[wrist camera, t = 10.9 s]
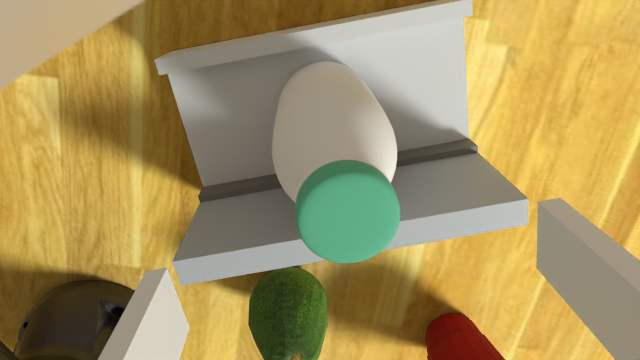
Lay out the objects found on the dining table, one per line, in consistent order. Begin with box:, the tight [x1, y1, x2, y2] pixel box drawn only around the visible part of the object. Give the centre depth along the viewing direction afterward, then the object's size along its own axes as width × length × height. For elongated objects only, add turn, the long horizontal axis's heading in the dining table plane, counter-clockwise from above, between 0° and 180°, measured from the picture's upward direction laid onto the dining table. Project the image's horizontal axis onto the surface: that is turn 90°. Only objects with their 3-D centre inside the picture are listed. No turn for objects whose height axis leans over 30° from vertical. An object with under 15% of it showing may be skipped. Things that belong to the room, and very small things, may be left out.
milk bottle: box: [272, 61, 400, 263], centre depth 28 cm, size 8×8×20 cm
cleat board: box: [154, 0, 528, 286], centre depth 34 cm, size 24×14×14 cm, turn 100°
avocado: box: [249, 267, 328, 360], centre depth 42 cm, size 8×8×12 cm
